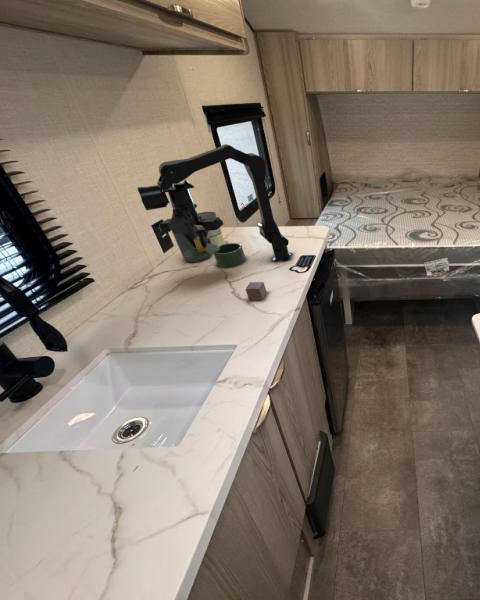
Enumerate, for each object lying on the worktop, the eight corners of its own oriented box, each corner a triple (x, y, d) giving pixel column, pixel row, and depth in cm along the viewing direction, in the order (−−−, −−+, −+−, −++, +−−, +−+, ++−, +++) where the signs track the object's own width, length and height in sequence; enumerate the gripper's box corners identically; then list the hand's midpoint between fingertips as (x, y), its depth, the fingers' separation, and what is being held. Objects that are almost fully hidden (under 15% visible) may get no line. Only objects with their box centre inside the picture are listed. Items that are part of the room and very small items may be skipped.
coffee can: (200, 252, 141) (188, 221, 133) (201, 244, 148) (189, 214, 141) (226, 247, 144) (215, 216, 136) (226, 239, 152) (215, 210, 144)
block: (253, 293, 111) (250, 282, 108) (267, 292, 111) (263, 281, 109) (249, 300, 107) (245, 289, 105) (262, 300, 107) (259, 288, 105)
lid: (195, 247, 120) (189, 233, 117) (225, 246, 120) (220, 231, 117) (178, 260, 111) (172, 245, 108) (211, 259, 111) (205, 244, 108)
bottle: (180, 263, 132) (146, 188, 115) (191, 253, 140) (161, 181, 124) (206, 262, 132) (176, 187, 116) (216, 252, 141) (189, 180, 124)
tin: (224, 256, 137) (220, 243, 133) (249, 255, 137) (245, 242, 133) (213, 268, 128) (208, 254, 125) (240, 267, 128) (235, 253, 125)
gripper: (138, 212, 99) (160, 258, 108) (199, 210, 99) (217, 256, 108) (160, 202, 108) (179, 245, 117) (216, 200, 108) (230, 243, 117)
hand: (200, 247), depth 114 cm, fingers closed on lid, 2 cm apart
